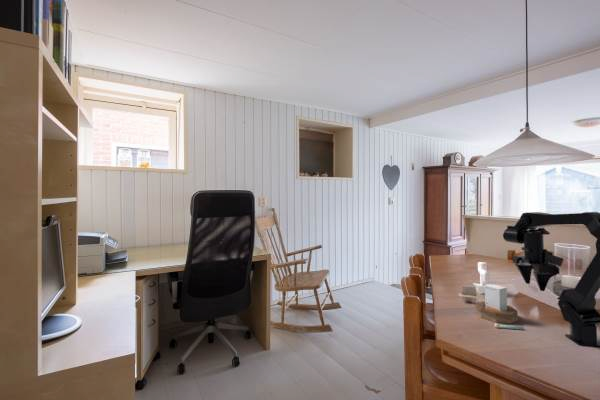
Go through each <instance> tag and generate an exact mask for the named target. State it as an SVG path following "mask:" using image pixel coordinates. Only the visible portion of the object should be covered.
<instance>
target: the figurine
mask: <svg viewBox="0 0 600 400" xmlns="http://www.w3.org/2000/svg"><path fill="white" fill-rule="evenodd" d="M487 269H488V266H487V262H485V261H483V262H482V261H479V262H477V271H478V273H479V282H480V283H479V282H473V283H472V284H473V286H475V287H476V292H477V293H478V294H479V295H485V285H488V284H489V282H490V275H489V272H488V271H487Z"/></svg>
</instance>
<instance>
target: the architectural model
mask: <svg viewBox="0 0 600 400" xmlns="http://www.w3.org/2000/svg"><path fill="white" fill-rule="evenodd" d="M458 295H459V297H461V301H462V300H464V301H463V302H470V303H475V304H477V303H478V292H477V289H476V287H475V286H474V285H473V286H472V285H461V293H460V292H459V293H458Z"/></svg>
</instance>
